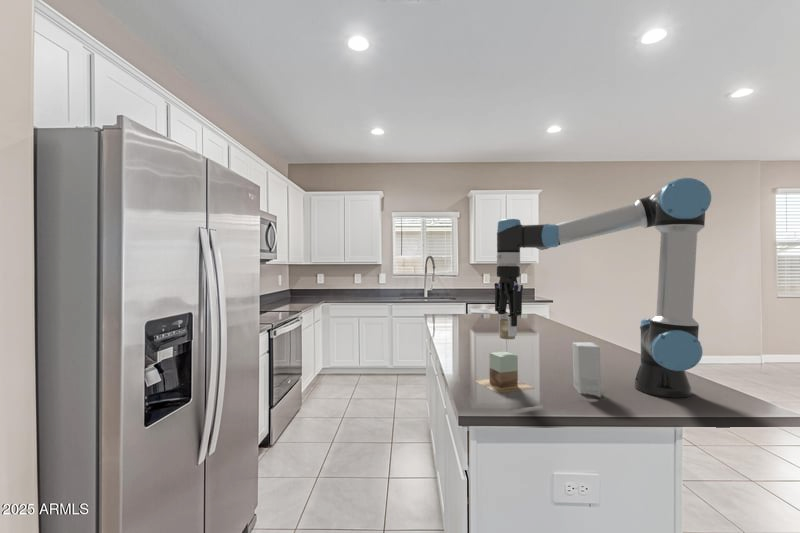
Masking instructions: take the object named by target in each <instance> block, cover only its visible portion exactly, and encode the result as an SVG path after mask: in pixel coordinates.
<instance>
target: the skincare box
mask: <svg viewBox="0 0 800 533" xmlns="http://www.w3.org/2000/svg"><path fill="white" fill-rule="evenodd" d="M571 348H572V370H573V371H572V372H573V373H572V374H573V377H572V378H573V388H574V389H575V390H576V391H577V393H578V394H580V395H591V396H593V395H594V396H595V397H598V398H602V384H601V382H602V381H601V354H600V352H601V351H600V350H601V349H600V348H601V347H600V346H599V345H597V344H596V343H594V342H592V341H591V342H590V341H589V342H584V341H583V342H582V341H581V342H578V341H577V342H572V347H571Z"/></svg>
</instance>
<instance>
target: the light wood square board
mask: <svg viewBox="0 0 800 533" xmlns="http://www.w3.org/2000/svg"><path fill="white" fill-rule="evenodd" d="M474 382H476V383H478V384H479V385H481V386H483V387H485V388H487V389H488V390H490V391H492V392H494V393H496V394H500V393H507V392H509V393H510V392H515V391H516V392H517V391H525V390H531V389H532V390H533V389H535V387H533V386H531V385H528V384H526V383H524V382H522V381H519V380H518V386H514V387H506V388H499V387H497V386H495V385H493V384H491V383H490V378H486V379H477V380H474Z"/></svg>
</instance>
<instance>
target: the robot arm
mask: <svg viewBox="0 0 800 533" xmlns="http://www.w3.org/2000/svg"><path fill="white" fill-rule="evenodd" d="M711 202H712V192H711V190H710V188H709V187H708V186H707V184H705V183H704V182H703V181H701V180H700V179H697V178H693V177H682V178H677V179H675V180H672V181H669V182H667V183H666V184H665V185H664V186H663V187H662V188H661V189H659V190H658V191H656V192H655V193H653V194H651V195H649V196H646V197H643V198H639V199H636V201H635V203H631V204H628V205H625V206H624V205H623V206H621V207H620V206H619V207H617V208H613V209H608V210H604V211H601V212H599V213H598V212H597V213H593V214H590V215H586V216H583V217H578V218H576V219H571V220H567V221H563V222H560V223H554V224H553V223H552V224H551V223H546V224H545V223H544V224H527V225H526V224H522V223H521V220H520V219H518V218H503V219H500V220H499V221H498V222H497V232H496V251H497V252H496V264H497V266H496V277H497V278H499V280H498V281H499V282H495V283H494V286H493V287H494V311H495V312H497V314H498V334H500V319H508V336H515V337H517V335H518V334H517V330H518V329H517V327H518V317H519V316H522V314H523V312H522V310H523V299H522V298H523V289H524V285H523V284H519V283H518V278H519V277H521V267H520V266H519V265H520V264H521V249H522V248H523V249H524V248H531V249H532V248H533V249H534V248H535V249H538V250H540V251H543V250H548V249H550V248H558V247H559V246H560V245H561V246H562V245H566V244H569V243H574V242H578V241H583V240H588V239H591V238H595V237H600V236H604V235H609V234H611V233H617V232H620V231H624V230H628V229H632V228H638V227H642V228H644V229H647V228H651V227H654V228H655V229H656V230H657V231H658V232H659V233H660V242H659V244H660V246H659V259H658V260H659V261H658V262H659V264H658V279H657V295H656V296H657V301H656V313H655V315H654V316H652V317H651V318H643V319H641V321H640V326H639V329H640V365H639V368H638V370H637V373H636V376H635V378H634V388H635V389H636V390H637V391H640V392H642V393H645V394H649V395H653V396H657V397H658V396H659V397H662V398H663V397H664V398H675V399H677V398H681V399H682V398H688V397H690V396H692V386H691V385H690V381H689V378H688V376H687V373H686V371H689V370H690V369H693V368H694V367H696V366H697V365H698V364H699V363H700V361H701V360H702V357H703V347H702V344H701V341H699V331H700V330H699V328H700V326H699V325H700V324H699V322H697V321H696V320H695V319H694V317H693V313H694V312H693V311H694V296H695V279H696V277H695V276H696V263H697V262H696V261H697V260H696V259H697V247H698V246H697V242H698V234H699V232H700V231H701V230H702V229H704V228H705V224H706V223H705V222H706V212H707V211H708V209H709V208H710V205H711ZM507 307H508V310H509V314H508V311H507Z"/></svg>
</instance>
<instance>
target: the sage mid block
mask: <svg viewBox="0 0 800 533" xmlns="http://www.w3.org/2000/svg"><path fill="white" fill-rule="evenodd" d="M518 360H519V359H518V354H514V353H511V352H508V351H496V352H489V369H490V368H491V369H494V370H496V371H498V372H500V373H502V372H511V371H519V370H518V365H519V364H518V362H519V361H518Z"/></svg>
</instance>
